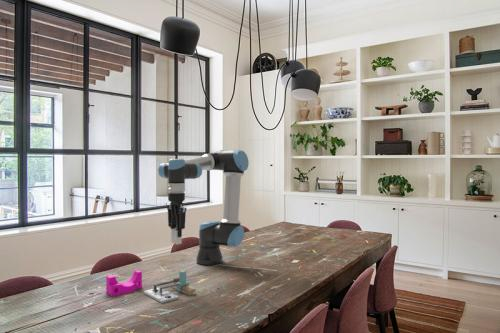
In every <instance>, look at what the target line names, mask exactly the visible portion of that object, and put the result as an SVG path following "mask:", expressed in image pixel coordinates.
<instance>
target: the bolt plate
mask: <svg viewBox="0 0 500 333" xmlns="http://www.w3.org/2000/svg"><path fill="white" fill-rule="evenodd" d="M159 287H160V286H159ZM159 287H158V286H157V290H154V288H151V289H147V290H143V294H144V295H145V296H147V297H149V298H150V299H153V300H155V301H157V302H159V303H160V304H165V303H169V302H172V301H176V300H178V299H180V296H179V295H178V294H175V293H173V292H171V291H170V290H168V289H166V288H165V289H162V293H160V289H159Z"/></svg>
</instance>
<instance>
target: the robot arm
mask: <svg viewBox="0 0 500 333" xmlns="http://www.w3.org/2000/svg"><path fill="white" fill-rule="evenodd" d="M248 168H249V157H248V155H247V153H246V151H243V150H241V149H230V150H229V149H226V150H223V149H221V150H215V151H212V152H209V153H205V154H203V155H202V156H198V157H192V158H187V159H183V158H170V159H169V160H168V162H165V163H160V164H159V166H158V169H157V171H158V175H159V176H160V178H162V179H168V184H167V187H168V189H167V190H168V191H167V192H169V193H168V194H167V195H168V202H170V203H169V204H170V205H167V206H166V208H167V209H166V210H167V220H168V222H167V223H168V227H170V229H171V230H170V234H171V236H170V237H171V239H170V240H171V241H170V242H171V244H175V245H182V243H183V242H182V240H183V239H182V236H183V233H182V232H183V231H182V230H184V229H185V228H186V213H187V207H184V204H183V202H185V200H186V194H185V192H186V180H192V179H193V180H195V179H199V178H200V177H202V174H203V171H223V175H224V176H225V185H224V200H223V215H222V219H221V220H211V221H205V222H201V223H200V224H199V230H198V231H199V233H198V234H199V235H198V236H199V243H198V244H199V245H198V246H199V249H198V251H197V254H196V259H195V260H196V261H195V262H196V263H197V264H198V265H206V266H209V265H218V264H221V263H222V262H223V254H222V251H221V248H220V246H225V247H229V248H231V247H233V248H236V247H239V246H240V245H241V244H242V242H243V240H244V239H245V238H244V237H245V228H244V227H243V226H242V225H241V223H242V221H241V220H239V216H240V215H239V211H240V199H241V198H240V195H241V194H240V193H241V180H242V177H243V175H245V174H244V173H245V171H247V170H248Z"/></svg>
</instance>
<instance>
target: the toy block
mask: <svg viewBox="0 0 500 333" xmlns="http://www.w3.org/2000/svg"><path fill="white" fill-rule="evenodd" d="M142 272H143V271H141V270H139V269H137V270H133V275H132V277H131V278H130V279H128V280H127V281H125V282H118V280H117V277H116V276H115V275H114V274H110V275H106V276H105V277H106V279H105V282H106V284H105V285H106V287H105V288H106V290H105V291H106V294H108V295H109V296H110V297H114V296H119V295H123V294H127V293H132V292H135V291H136V290H137V289H142V288H143V273H142Z"/></svg>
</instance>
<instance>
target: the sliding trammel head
mask: <svg viewBox="0 0 500 333" xmlns="http://www.w3.org/2000/svg"><path fill="white" fill-rule="evenodd" d="M178 274H179V275H178V277H179V282H177V283H175V284H171V283H170V284H166V285H162V286H159V289H160V293H162V289H165V290H166V289H168V288H172V287H173V286H176V289H175V290H176V292H180V293H182V292H181V286H184V285H188V286H190V282H189V281H188V280H187V270H184V269H183V270H179V273H178Z"/></svg>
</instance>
